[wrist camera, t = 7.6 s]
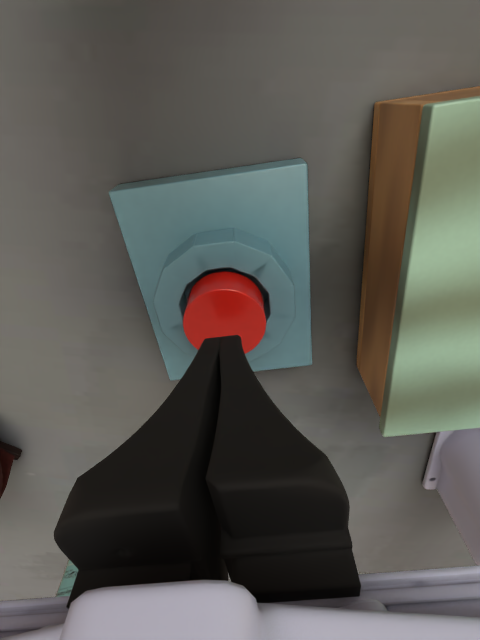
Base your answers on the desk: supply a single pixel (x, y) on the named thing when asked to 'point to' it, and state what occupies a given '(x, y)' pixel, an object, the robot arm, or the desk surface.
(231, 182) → the block
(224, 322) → the button
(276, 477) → the robot arm
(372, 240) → the box
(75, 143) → the desk surface
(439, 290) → the lid
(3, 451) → the mate gourd
